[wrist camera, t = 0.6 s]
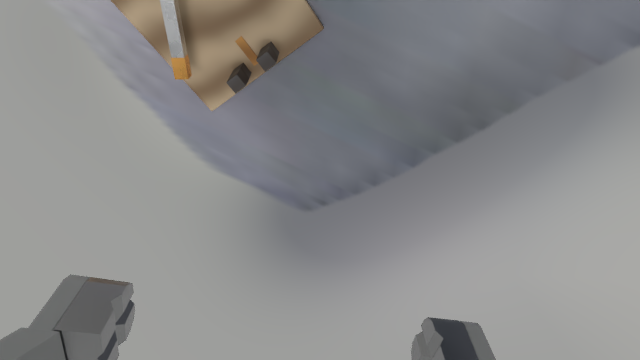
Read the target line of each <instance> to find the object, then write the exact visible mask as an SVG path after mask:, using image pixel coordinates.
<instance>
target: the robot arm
mask: <svg viewBox="0 0 640 360" xmlns="http://www.w3.org/2000/svg"><path fill="white" fill-rule="evenodd" d="M132 294H133V284H132V283H128V282H121V281H114V280H107V279H100V278H93V277H84V276H77V275H69V276H68V277H66V278H65V279H64V280H63V281H62V283H61V284H60V285H59V287H58V288H57V289H56V291H55V292H54V294H53V295H52V296H51V298H50V299H49V300H48V302H47V303H46V305H45V306H44V307H43V309H42V310H41V311H40V313H39V314H38V315H37V317H36V318H35V319H34V321H33V322H32V323H31V325H30V326H29V328H20V329H18V330H17V331H15V332H13V333H11V334H10V335H8V336H6V337H4V338H3V339H1V340H0V360H117V359H118V356H119V353H118V345H120V344H121V343H123V342H124V341H125V340H126V339H127V337H128V334H129V332H130V330H131V326H132V323H133V319H134V312H135V306H134V303H133V302H132V301H131V300H130V298H131V297H132ZM421 327H422V330H423V331H422V332H421V333H419V334H417V335H416V336H415V338H414V341H413V343H412V351H411V354H412V360H496V359H495V357H494V355H493V353H492V350H491V348H490V346H489V344H488V341H487V339H486V337H485V335H484V333H483V330H482V328H481V326H480V325H479V324H478V323H472V322H463V321H457V320H448V319H438V318H429V317H428V318H426V319H425V320H424V321H423V323H422V325H421Z"/></svg>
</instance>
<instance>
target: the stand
mask: <svg viewBox="0 0 640 360" xmlns="http://www.w3.org/2000/svg"><path fill="white" fill-rule="evenodd" d="M111 1H112V2H113V3H114V4H115V5H116V7H117V8H118V9H119V10H120V11H121V12H122V13H123V14H124V15H125V16H126V18H127V19H128V20H129V21H130V22H131V23H132V24H133V25H134V26H135V27H136V29H137V30H138V31H139V32H140V33H141V34H142V35H143V36H144V37H145V38H146V40H147V41H148V42H149V43H150V44H151V45H152V46H153V47H154V48H155V49H156V51H157V52H158V53H159V54H160V55H161V56H162V57H163V58H164V59H165V60H166V62H167V63H168V64H169V65H170V66H171V67H172V68H173V66H172V61H171V53H170V48H169V43H168V39H167V34H166V29H165V24H164V19H163V14H162V9H161V4H160V0H111ZM178 4H179V9H180V15H181V20H182V26H183V32H184V37H185V43H186V49H187V54H188V57H189V62H190V68H191V73H192V76H191V77H190V78H189V79H183V80H184V81H185V82H186V83H187V85H188V86H189V87H190V88H191V89H192V90H193V91H194V92H195V93H196V94H197V96H198V97H199V98H200V99H201V100H202V101H203V102H204V103H205V104H206V105H207V107H208V108H209V109H210V110H211V111H213V110H215V109H216V108H217V107H219V106H220V105H221V104H223V103H224V102H225V101H227V100H228V99H230V98H231V97H232V96H234V95H235V94H236V93H238V92H239V91H240V90H242V89H243V88H244V87H246V86H247V85H248V84H250V83H251V82H253V81H254V80H255V79H257V78H258V77H259V76H261V75H262V74H263V73H265V72H266V71H267V70H269V69H270V68H271V67H273V66H274V65H276V64H277V63H278V62H280V61H281V60H282V59H284V58H285V57H286V56H288V55H289V54H290V53H292V52H293V51H295V50H296V49H297V48H299V47H300V46H301V45H303V44H304V43H305V42H307V41H308V40H309V39H311V38H312V37H313V36H315V35H316V34H318V33H319V32H320V31H322V30H323V29H324V27H323V25H322V23H321V22H320V20H319V19H318V17H317V16H316V14H315V13H314V11H313V10H312V8H311V7H310V5H309V4H308V2H307V0H178Z"/></svg>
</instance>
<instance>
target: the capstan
mask: <svg viewBox="0 0 640 360" xmlns="http://www.w3.org/2000/svg"><path fill="white" fill-rule="evenodd" d="M160 4H161V9H162V14H163V19H164V24H165V29H166V34H167V39H168V43H169V48H170V53H171V61H172V66H173V71H174V76H175V79H189V78H190V77H191V76H192V73H191V68H190V62H189V57H188V54H187V49H186V43H185V37H184V32H183V26H182V20H181V15H180V9H179V4H178V0H160Z"/></svg>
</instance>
